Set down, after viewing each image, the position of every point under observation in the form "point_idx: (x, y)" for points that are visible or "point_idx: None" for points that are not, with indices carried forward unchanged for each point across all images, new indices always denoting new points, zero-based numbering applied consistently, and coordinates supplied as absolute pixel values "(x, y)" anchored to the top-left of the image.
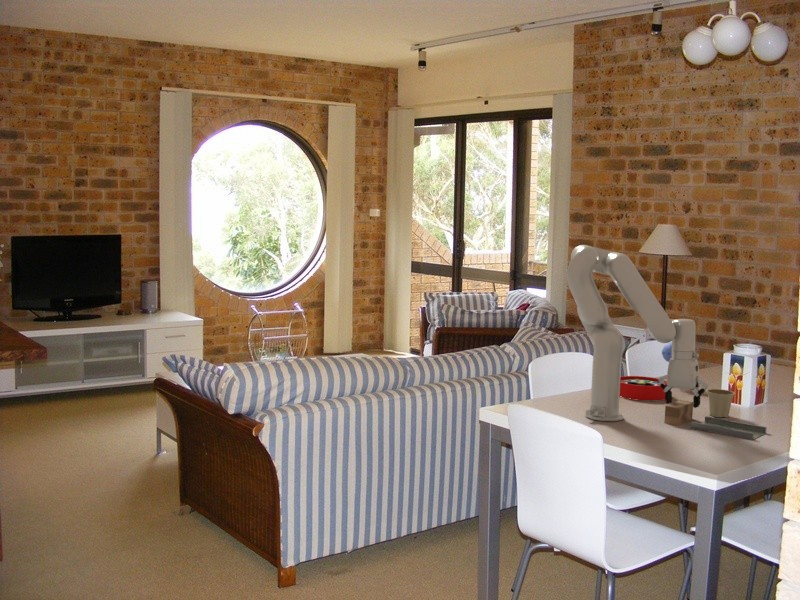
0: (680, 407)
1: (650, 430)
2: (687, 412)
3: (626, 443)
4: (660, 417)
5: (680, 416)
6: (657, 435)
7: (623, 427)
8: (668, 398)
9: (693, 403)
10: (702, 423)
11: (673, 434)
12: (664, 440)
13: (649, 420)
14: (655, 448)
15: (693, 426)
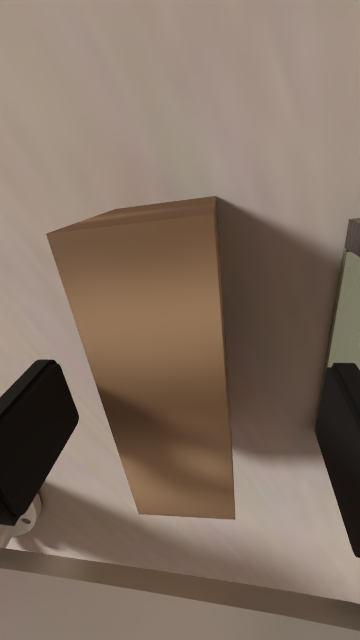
0: (233, 493)
1: (195, 532)
2: (223, 326)
3: None
4: (71, 335)
5: (230, 426)
6: (248, 563)
7: (113, 542)
8: (55, 455)
9: (327, 467)
10: (347, 313)
11: (287, 535)
12: (294, 589)
13: (89, 423)
14: None
15: None
